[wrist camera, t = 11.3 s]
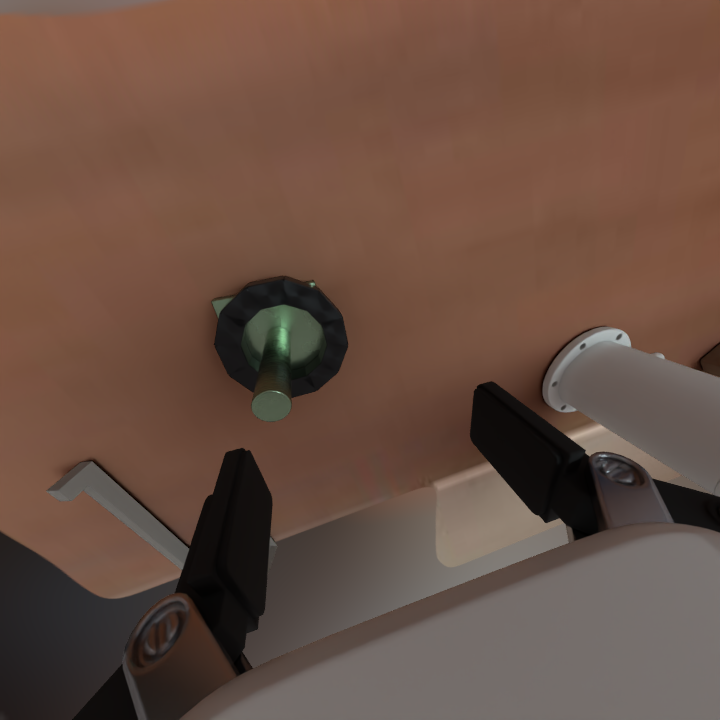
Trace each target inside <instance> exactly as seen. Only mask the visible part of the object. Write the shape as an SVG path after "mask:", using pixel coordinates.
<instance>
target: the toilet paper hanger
mask: <svg viewBox="0 0 720 720" xmlns="http://www.w3.org/2000/svg"><path fill="white" fill-rule="evenodd" d="M82 491H85V492H86V493H87V494H88V495H89V496H91V497H92V498H93V499H94V500H96V501H97V502H98V503H99V504H101V505H102V506H103V507H104V508H106V509H107V510H108V511H109V512H111V513H112V514H113V515H114V516H116V517H117V518H118V519H119V520H120V521H122V522H123V523H124V524H125V525H127V526H128V527H129V528H130V529H132V530H133V531H134V532H135V533H137V534H138V535H139V536H140V537H142V538H143V539H144V540H145V541H147V542H148V543H149V544H150V545H151V546H153V547H154V548H155V549H156V550H158V551H159V552H160V553H161V554H163V555H164V556H165V557H166V558H168V559H169V560H170V561H171V562H173V563H174V564H175V565H176V566H178V567H179V568H180V569H181V570H183V567H184V564H185V561H186V557H187V554H188V551H189V548H188V547H187V546H185V545H184V544H183V543H182V542H181V541H180V540H179V539H178V538H177V537H175V536H174V535H173V534H172V533H171V532H170V531H169V530H168V529H167V528H165V527H164V526H163V525H162V524H161V523H160V522H159V521H158V520H157V519H155V518H154V517H153V516H152V515H151V514H150V513H149V512H148V511H147V510H145V509H144V508H143V507H142V506H141V505H140V504H139V503H138V502H137V501H135V500H134V499H133V498H132V497H131V496H130V495H129V494H128V493H127V492H125V491H124V490H123V489H122V488H121V487H120V486H119V485H118V484H117V483H115V482H114V481H113V480H112V479H111V478H110V477H109V476H108V475H107V474H105V473H104V472H103V471H102V470H101V469H100V468H99V467H98V466H97V465H95V464H94V463H93V462H92V461H90V462H80V463H79V464H78V465H77V466H76V467H74V468H73V469H72V470H71V471H70V472H68V473H67V474H66V475H65V476H64V477H62V478H61V479H60V480H59V481H57V482H56V483H55V484H54V485H53V486H51V487H50V488H49V489H48V490H47V491H46V492H48V493H49V494H50V495H52V496H53V497H55V498H56V499H57V500H59V501H72V500H73V499H74V498H75V497H76V496H78V495H79V494H80V493H81V492H82ZM276 549H277V545H276V544H275V542H274V541H273V540H272V538H271V537H270V545H269V559H268V573H269V570H270V567H271V564H272V561H273V558H274V554H275V552H276ZM268 573H267V576H268Z"/></svg>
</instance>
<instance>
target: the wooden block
mask: <svg viewBox="0 0 720 720" xmlns="http://www.w3.org/2000/svg"><path fill="white" fill-rule="evenodd" d="M700 362H701V365H702V368H703V371H705V372H707V373H710V374H713V375H716V376H719V377H720V344H719V345H718V346H717V347H715V348H714V349H713V350H712V351H711V352H710V353H708V354H707V355H706V356H705V357H704V358H702V359H701V361H700Z"/></svg>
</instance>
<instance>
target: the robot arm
mask: <svg viewBox="0 0 720 720" xmlns="http://www.w3.org/2000/svg"><path fill="white" fill-rule="evenodd" d="M542 392H543V398H544V400H545V402H546V403H547V404H548V405H549V406H550V407H552V408H553V409H555V410H556V411H559V412H573V411H577V410H578V411H580V412H581V413H583V414H584V415H586V416H588V417H589V418H591V419H593V420H594V421H596V422H597V423H599V424H601V425H602V426H604V427H605V428H607V429H609V430H610V431H612V432H613V433H615V434H617V435H618V436H620V437H622V438H623V439H625V440H626V441H628V442H630V443H631V444H633V445H634V446H636V447H638V448H639V449H641V450H643V451H644V452H646V453H647V454H649V455H651V456H652V457H654V458H655V459H657V460H659V461H660V462H662V463H663V464H665V465H667V466H668V467H670V468H672V469H673V470H675V471H676V472H678V473H680V474H681V475H683V476H684V477H686V478H688V479H689V480H691V481H692V482H694V483H696V484H697V485H699V486H701V487H702V488H704V489H705V490H707V491H709V492H710V493H712V494H713V495H711V494H708V493H703V492H700V491H696V490H693V489H689V488H685V487H682V486H678V485H674V484H670V483H667V482H663V481H659V480H656V479H652V478H651V476H650V475H649V473H648V472H647V471H646V470H645V469H644V468H643V467H642V466H640V465H639V464H637V463H636V462H634V461H633V460H631V459H629V458H626V457H624V456H622V455H618V454H615V453H610V452H596V453H594V454H592V455H591V456H590V457H589V456H588V455H587V454H585V451H586V450H585V449H583V448H582V447H580V446H579V445H578V444H576V443H575V442H574V441H572V440H571V439H570V438H568V437H567V436H566V435H564V434H563V433H562V432H560V431H559V430H558V429H556V428H555V427H554V426H552V425H551V424H550V423H548V422H547V421H545V420H544V419H543V418H541V417H540V416H539V415H537V414H536V413H535V412H533V411H532V410H531V409H529V408H528V407H527V406H525V405H524V404H523V403H521V402H520V401H519V400H517V399H516V398H515V397H513V396H512V395H511V394H509V393H508V392H506V391H505V390H504V389H502V388H501V387H500V386H498V385H497V384H496V383H494V382H487V383H483V384H480V385H478V386H477V389H475V390H474V397H473V407H472V418H471V429H470V438H471V441H472V442H473V444H474V445H475V446H476V447H477V448H478V450H479V451H480V452H481V453H482V454H483V455H484V457H485V458H486V459H487V460H488V461H489V462H490V464H491V465H492V466H493V467H494V468H495V469H496V471H497V472H498V473H499V474H500V475H501V476H502V478H503V479H504V480H505V481H506V482H507V483H508V485H509V486H510V487H511V488H512V489H513V490H514V492H515V493H516V494H517V495H518V496H519V497H520V499H521V500H522V501H523V502H524V503H525V504H526V506H527V507H528V508H529V509H530V510H531V511H532V512H533V513H534V514H535V515H539V516H540V517H541V518H542V519H543V521H544V522H545V523H548V522H550V521H553V520H556V519H558V518H560V519H561V520H562V521H563V522H564V523H565V524H566V530H567V535H568V541H569V543H568V544H565V545H562V546H560V547H557V548H554V549H552V550H549V551H546V552H544V553H541V554H538V555H536V556H533V557H531V558H528V559H525V560H523V561H520V562H517V563H515V564H512V565H510V566H507V567H505V568H502V569H499V570H496V571H494V572H491V573H489V574H486V575H483V576H481V577H478V578H476V579H473V580H471V581H468V582H465V583H463V584H460V585H458V586H455V587H453V588H450V589H447V590H445V591H442V592H440V593H437V594H434V595H432V596H429V597H427V598H424V599H421V600H419V601H416V602H414V603H411V604H409V605H406V606H403V607H401V608H398V609H396V610H393V611H391V612H388V613H386V614H383V615H381V616H378V617H375V618H373V619H371V620H368V621H365V622H363V623H360V624H358V625H355V626H353V627H350V628H348V629H345V630H343V631H340V632H337V633H335V634H332V635H330V636H327V637H325V638H322V639H320V640H318V641H315V642H313V643H310V644H308V645H306V646H303V647H301V648H298V649H296V650H294V651H291V652H289V653H286V654H284V655H282V656H279V657H277V658H274V659H272V660H270V661H268V662H266V663H264V664H262V665H260V666H258V667H255V668H252V666H251V665H250V663H249V662H248V660H247V658H246V657H245V655H244V654H243V652H242V651H243V649H244V648H245V640H246V633H249V632H252V631H254V630H257V629H258V620H259V616H261V615H263V613H264V610H265V600H266V587H267V573H268V559H269V545H270V531H271V517H272V496H271V493H270V491H269V489H268V487H267V485H266V483H265V481H264V478H263V476H262V474H261V472H260V470H259V468H258V466H257V464H256V462H255V460H254V457H253V455H252V453H251V451H250V450H248V451H245V449H244V448H240V449H236V450H232V451H229V452H226V454H225V456H224V459H223V463H222V466H221V469H220V473H219V476H218V479H217V482H216V486H215V489H214V492H213V494H212V495H209V496H208V497H207V498H206V500H205V502H204V505H203V508H202V511H201V514H200V517H199V520H198V524H197V527H196V530H195V533H194V536H193V539H192V542H191V545H190V548H189V551H188V554H187V557H186V561H185V564H184V567H183V570H182V573H181V576H180V579H179V582H178V585H177V588H176V592H175V594H171V595H169V596H167V597H165V598H163V599H161V600H160V601H159V602H157V603H156V604H155V605H154V606H152V607H151V608H150V609H149V610H148V611H147V612H146V614H145V615H144V616H143V617H142V618H141V619H140V621H139V622H138V624H137V625H136V627H135V628H134V630H133V631H132V633H131V635H130V637H129V639H128V642H127V644H126V646H125V650H124V654H123V660H122V661H123V664H122V665H121V666H120V667H119V668H118V669H117V670H116V672H115V673H114V674H113V675H112V676H111V677H110V678H109V679H108V680H107V682H106V683H105V684H104V685H103V686H102V687H101V688H100V689H99V690H98V692H97V693H96V694H95V695H94V696H93V697H92V698H91V699H90V701H89V702H88V703H87V704H86V705H85V706H84V707H83V708H82V709H81V711H80V712H79V713H78V714H77V715H76V716H75V717H74V719H72V720H720V378H719V377H716V376H713V375H710V374H707V373H704V372H701V371H698V370H695V369H692V368H690V367H687V366H684V365H681V364H678V363H675V362H672V361H669V360H666V359H664V356H663V354H661V353H657V352H656V353H652V354H648V353H645V352H642V351H640V350H637V349H634V348H631V342H630V339H629V337H628V335H627V334H626V333H625V332H624V331H621V330H619V329H616V328H612V327H599V328H595V329H592V330H590V331H588V332H585V333H583V334H582V335H580V336H579V337H577V338H575V339H574V340H573V341H572V342H570V343H569V344H568V345H567V346H566V347H565V348H564V349H563V350H562V351H561V352H560V353H559V354H558V356H557V357H556V358H555V359H554V361H553V362H552V364H551V366H550V367H549V369H548V371H547V373H546V376H545V379H544V382H543V389H542Z"/></svg>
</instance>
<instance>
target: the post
mask: <svg viewBox="0 0 720 720" xmlns="http://www.w3.org/2000/svg"><path fill="white" fill-rule="evenodd" d="M305 283H308V284H311V285H315V282H314V281H313V280H312V281H306V282H305ZM236 295H237V294H236ZM236 295H230V296H225V297H220V298H215V299H213V300H212V301H211V302H212V305H213V307H214V309H215V312H216V314H217V317H218V319H219V313H220V311H221V310H222V309H223V308H224V307H225V306H226V305H227V304H228V303H229V302H230V301H231V300H232V299H233V298H234V297H235V296H236ZM244 339H245V341H246V343H247V346H248V348H249V351H250V353H251V356H253V357H254V358H255V359H256V360H258V361H259V362H260V367H259V372H258V376H257V381H256V385H255V390H254V394H253V399H252V404H251V409H252V411H253V413H254V415H255V416H256V417H257V418H259V419H261V420H263V421H267V422H274V421H279V420H281V419H283V418H284V417H286V416H287V415H288V414H289V412H290V410H291V406H292V396H291V370H295V369H299V368H303V367H306V366H307V365H308V364H309V363H310V362H311V361H313V360H314V359H315V358H316V357H317V356H318V355H319V353H320V350H321V347H322V344H323V341H324V335H323V331H322V327H321V325H320V324H319V323H318V322H317V321H316V320H315V319H314V318H313V317H312V316H311V315H310V314H309V313H308V312H307V311H305V310H301V309H298V308H294V307H291V306H287V305H280V306H276V307H271V308H267V309H262V310H260V311H259V312H258V313H257V314H256V315H255V316H254V317H253V318H252V319H251V320H250V321H249V322H248V323H247V327H246V332H245V336H244Z"/></svg>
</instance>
